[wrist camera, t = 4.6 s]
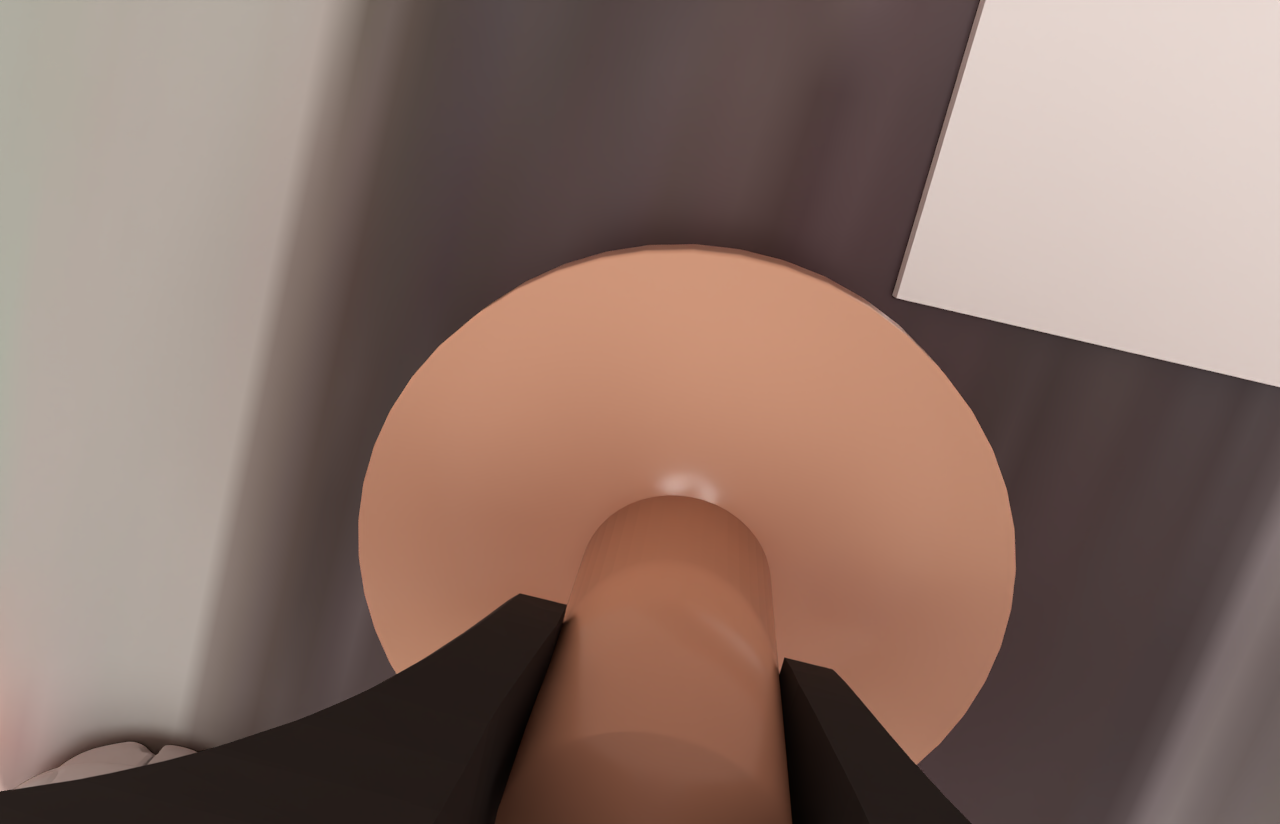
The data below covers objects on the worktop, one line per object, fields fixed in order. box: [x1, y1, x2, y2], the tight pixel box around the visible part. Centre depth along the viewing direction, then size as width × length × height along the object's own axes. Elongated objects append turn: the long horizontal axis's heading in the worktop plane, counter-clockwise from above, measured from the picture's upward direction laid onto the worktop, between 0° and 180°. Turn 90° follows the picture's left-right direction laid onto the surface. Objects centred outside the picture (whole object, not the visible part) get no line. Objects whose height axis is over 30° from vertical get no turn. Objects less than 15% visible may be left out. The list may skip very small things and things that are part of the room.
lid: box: [359, 244, 1016, 824], centre depth 11 cm, size 10×10×6 cm
